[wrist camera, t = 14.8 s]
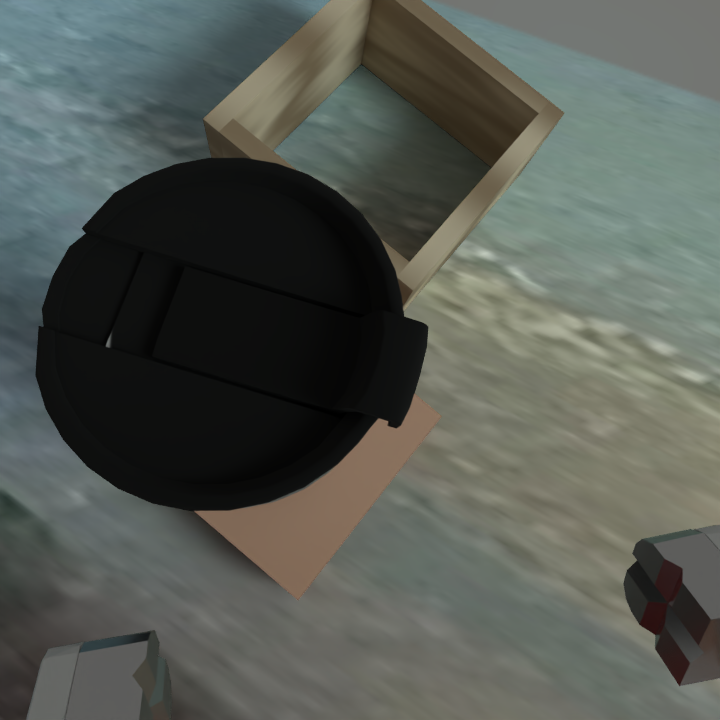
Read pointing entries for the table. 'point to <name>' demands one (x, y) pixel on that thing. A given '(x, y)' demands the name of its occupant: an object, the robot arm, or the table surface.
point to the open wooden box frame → (413, 82)
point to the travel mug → (224, 336)
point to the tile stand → (323, 505)
